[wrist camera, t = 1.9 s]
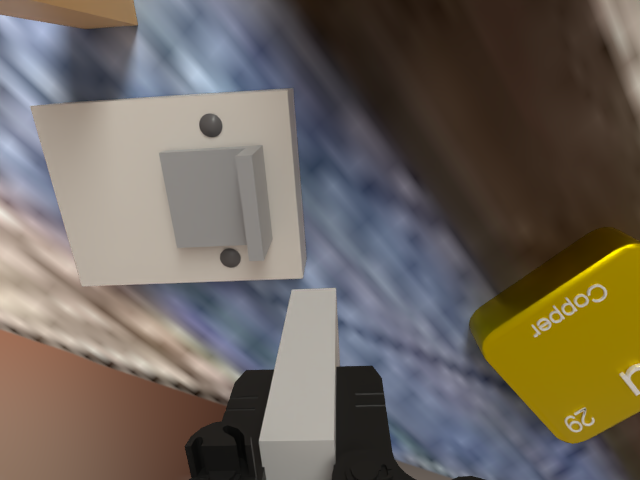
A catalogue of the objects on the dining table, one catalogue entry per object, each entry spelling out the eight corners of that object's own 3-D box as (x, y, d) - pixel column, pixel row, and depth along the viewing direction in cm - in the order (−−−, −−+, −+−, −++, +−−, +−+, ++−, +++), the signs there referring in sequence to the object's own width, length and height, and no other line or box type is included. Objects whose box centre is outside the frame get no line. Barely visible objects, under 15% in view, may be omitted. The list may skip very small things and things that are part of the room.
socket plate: (293, 88, 33) (287, 89, 29) (306, 258, 38) (302, 278, 34) (64, 102, 34) (29, 106, 30) (106, 265, 39) (81, 286, 35)
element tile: (609, 215, 36) (647, 235, 31) (693, 333, 39) (739, 367, 35) (458, 318, 40) (473, 349, 35) (547, 417, 43) (572, 457, 39)
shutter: (262, 145, 30) (251, 155, 26) (272, 239, 33) (263, 260, 29) (164, 150, 31) (139, 161, 27) (181, 243, 33) (161, 264, 29)
